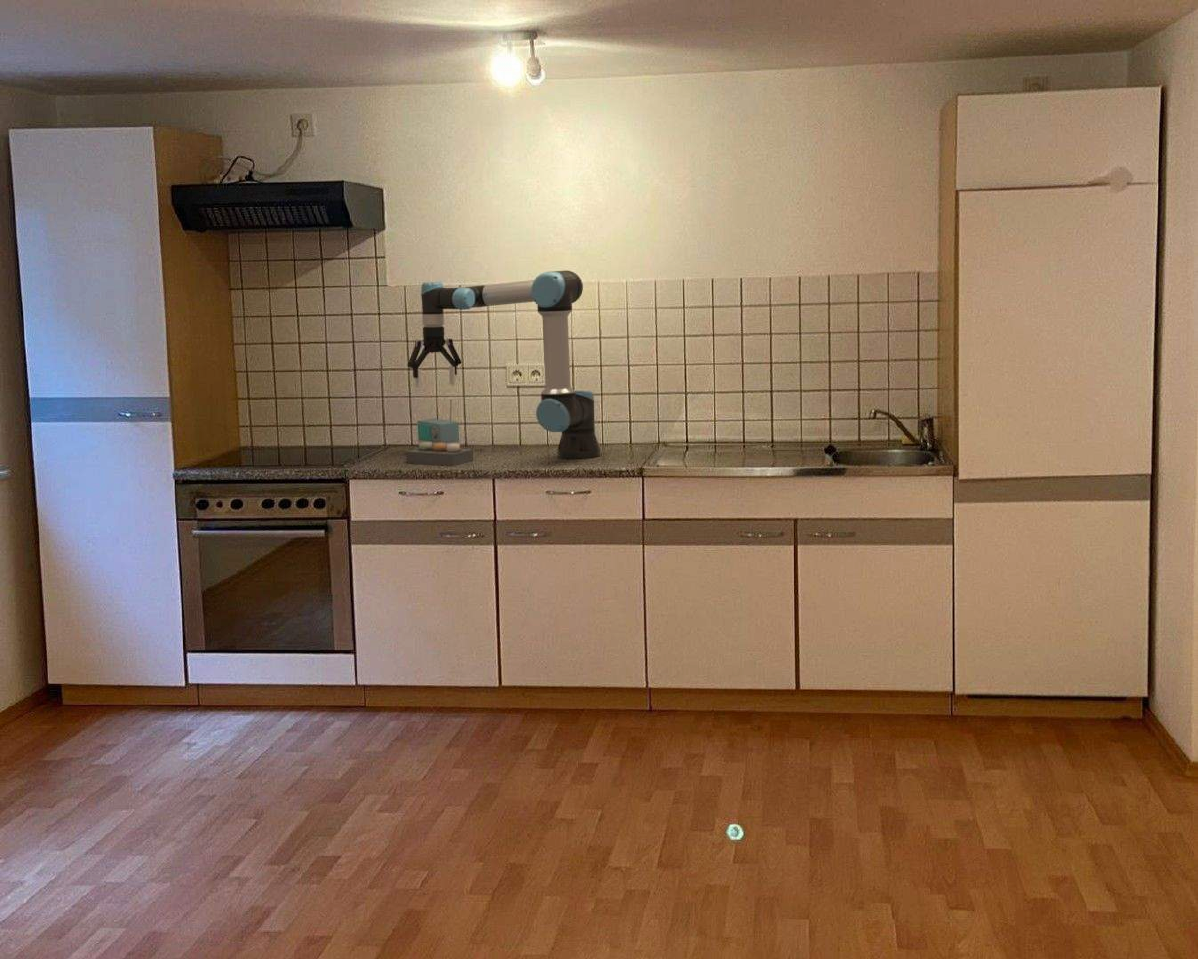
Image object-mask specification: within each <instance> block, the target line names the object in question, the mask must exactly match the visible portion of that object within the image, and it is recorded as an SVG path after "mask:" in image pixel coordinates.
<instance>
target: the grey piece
mask: <svg viewBox="0 0 1198 959" xmlns="http://www.w3.org/2000/svg"><path fill="white" fill-rule="evenodd" d="M405 455H406V456H405V459H406V463H407V462H408V463H407V464H417V465H418V464H419V465H431V466H433V465H434V466H435V465H437V466H447V467H448V466H449V467H454V466H458V465H462V464H466V463H470V462H474V460H475V459H474V449H472V448H471V449H470V448H460V451H459V452H447V448H446V451H433V447H432V450H427V451H421V450H419V448H415V449H412V450H407V451H405Z"/></svg>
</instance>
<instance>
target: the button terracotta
mask: <svg viewBox="0 0 1198 959" xmlns="http://www.w3.org/2000/svg"><path fill="white" fill-rule="evenodd" d="M433 451H446V443H433Z"/></svg>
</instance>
